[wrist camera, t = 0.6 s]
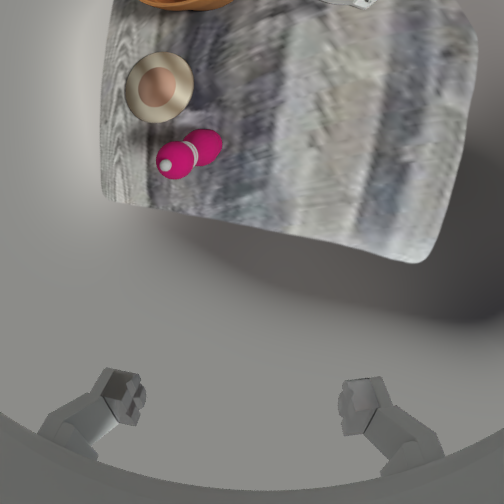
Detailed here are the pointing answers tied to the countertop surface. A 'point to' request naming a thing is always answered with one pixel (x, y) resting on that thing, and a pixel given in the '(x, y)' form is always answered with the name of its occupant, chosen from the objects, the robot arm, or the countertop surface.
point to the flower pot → (187, 4)
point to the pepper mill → (188, 153)
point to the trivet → (159, 87)
